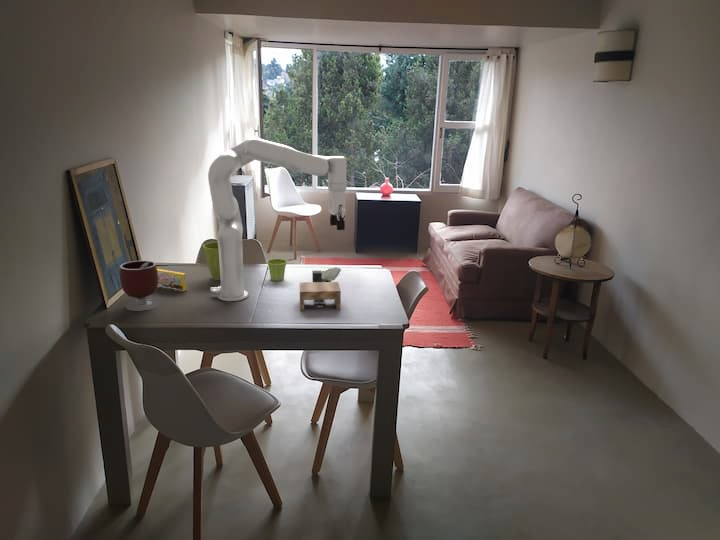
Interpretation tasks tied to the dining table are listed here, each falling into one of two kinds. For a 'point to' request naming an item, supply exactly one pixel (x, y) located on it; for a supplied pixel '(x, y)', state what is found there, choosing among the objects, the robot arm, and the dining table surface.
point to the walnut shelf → (320, 292)
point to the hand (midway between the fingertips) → (337, 227)
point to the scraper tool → (317, 278)
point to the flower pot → (212, 258)
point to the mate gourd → (139, 280)
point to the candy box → (171, 279)
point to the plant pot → (277, 268)
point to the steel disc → (319, 304)
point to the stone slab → (330, 274)
